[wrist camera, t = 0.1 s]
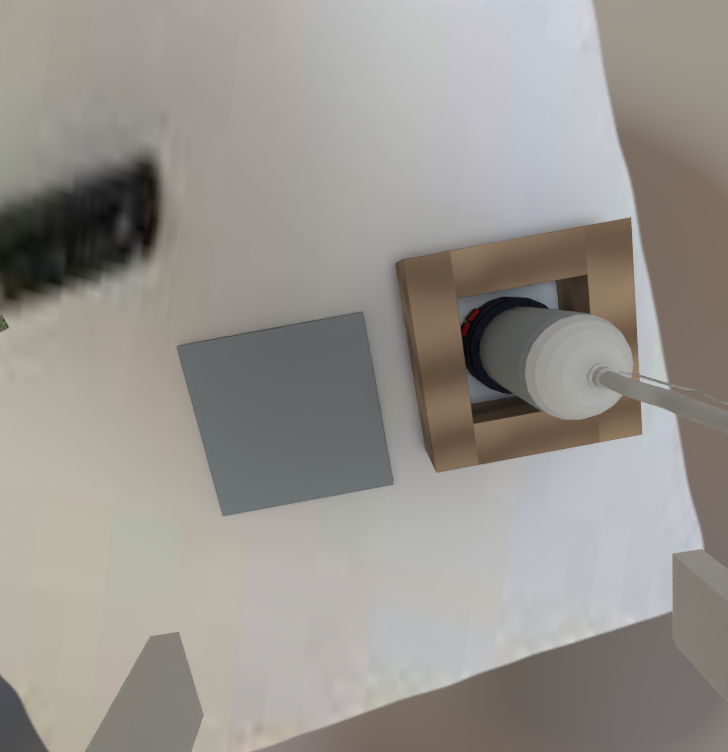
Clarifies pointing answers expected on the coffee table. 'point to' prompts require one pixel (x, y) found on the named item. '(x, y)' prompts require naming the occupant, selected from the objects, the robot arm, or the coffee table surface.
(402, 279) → the dock
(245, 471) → the mat
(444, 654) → the coffee table surface
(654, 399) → the humidifier
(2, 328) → the eiffel tower figurine
